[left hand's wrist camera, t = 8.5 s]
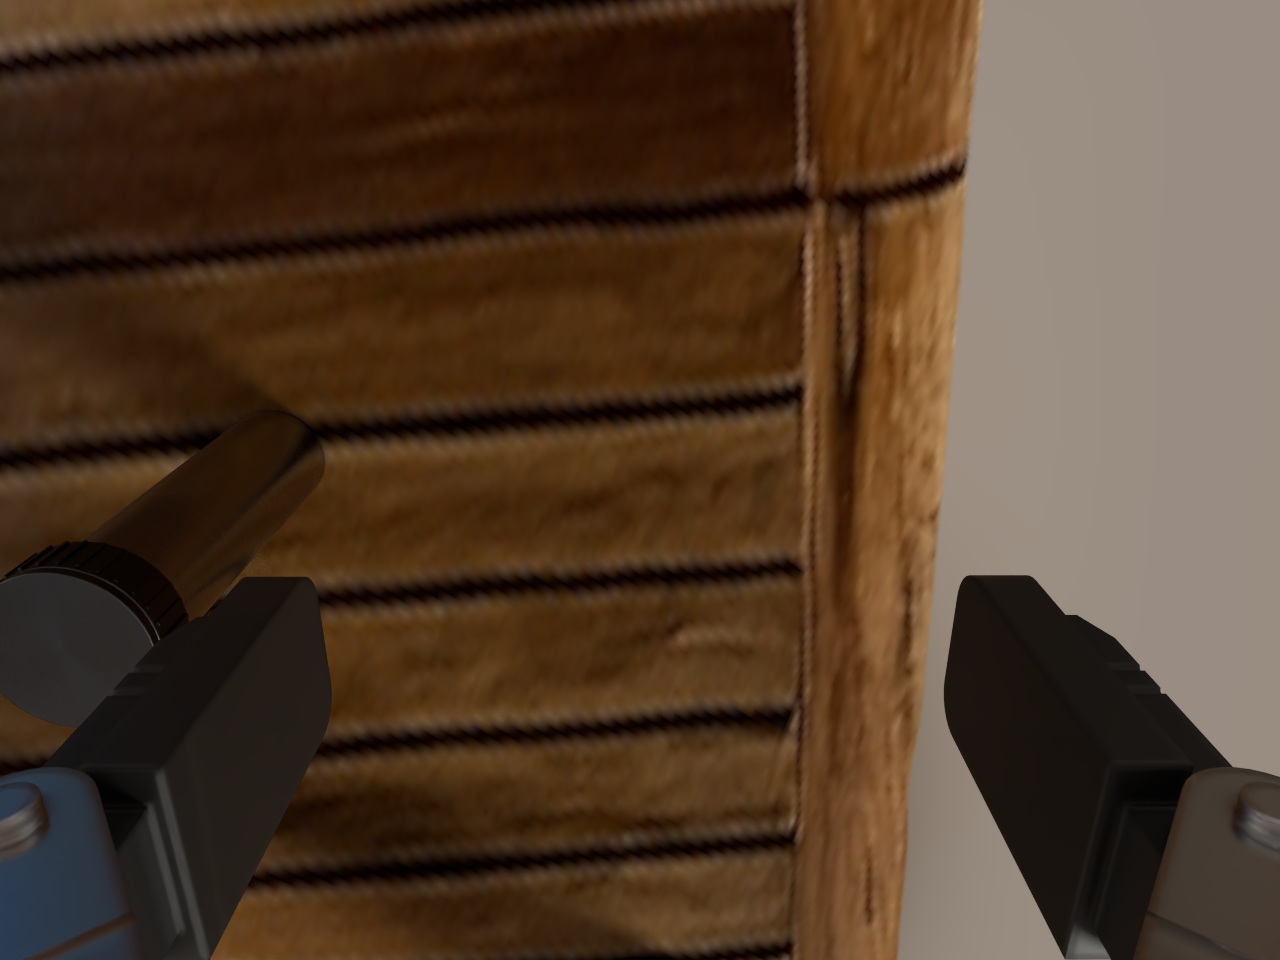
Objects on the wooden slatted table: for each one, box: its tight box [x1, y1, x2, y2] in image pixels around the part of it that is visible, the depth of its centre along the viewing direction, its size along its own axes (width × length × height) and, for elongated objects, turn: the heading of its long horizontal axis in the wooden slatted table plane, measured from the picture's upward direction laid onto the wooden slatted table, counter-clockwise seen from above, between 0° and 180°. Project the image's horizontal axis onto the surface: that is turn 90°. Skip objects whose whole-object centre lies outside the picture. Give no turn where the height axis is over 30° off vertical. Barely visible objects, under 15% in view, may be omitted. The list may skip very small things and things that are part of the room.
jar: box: [80, 411, 325, 622], centre depth 34 cm, size 4×4×16 cm
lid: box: [0, 540, 189, 728], centre depth 27 cm, size 6×6×2 cm
